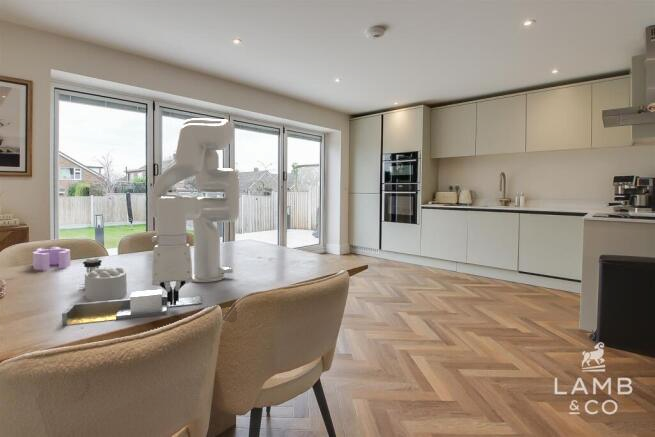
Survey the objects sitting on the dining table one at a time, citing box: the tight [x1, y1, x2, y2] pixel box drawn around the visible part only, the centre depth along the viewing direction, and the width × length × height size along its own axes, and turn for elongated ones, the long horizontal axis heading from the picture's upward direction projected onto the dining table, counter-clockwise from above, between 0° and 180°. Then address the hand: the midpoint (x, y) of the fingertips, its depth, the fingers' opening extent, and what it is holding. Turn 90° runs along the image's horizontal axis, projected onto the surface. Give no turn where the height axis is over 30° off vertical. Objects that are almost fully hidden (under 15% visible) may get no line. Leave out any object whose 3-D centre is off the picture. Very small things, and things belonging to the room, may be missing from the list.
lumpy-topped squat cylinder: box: [84, 266, 128, 302], centre depth 110 cm, size 10×13×9 cm
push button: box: [79, 257, 103, 289], centre depth 119 cm, size 7×5×10 cm
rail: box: [61, 294, 168, 326], centre depth 94 cm, size 24×8×3 cm, turn 113°
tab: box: [168, 295, 202, 308], centre depth 106 cm, size 9×7×1 cm
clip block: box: [129, 289, 163, 313], centre depth 96 cm, size 8×4×4 cm, turn 112°
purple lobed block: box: [32, 246, 71, 272], centre depth 151 cm, size 20×12×7 cm, turn 46°
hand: (173, 303), depth 99 cm, fingers closed
